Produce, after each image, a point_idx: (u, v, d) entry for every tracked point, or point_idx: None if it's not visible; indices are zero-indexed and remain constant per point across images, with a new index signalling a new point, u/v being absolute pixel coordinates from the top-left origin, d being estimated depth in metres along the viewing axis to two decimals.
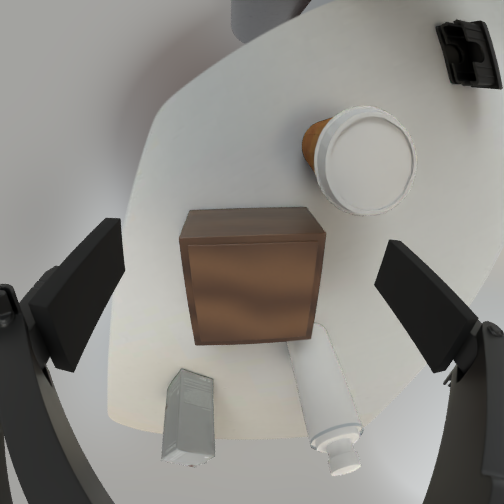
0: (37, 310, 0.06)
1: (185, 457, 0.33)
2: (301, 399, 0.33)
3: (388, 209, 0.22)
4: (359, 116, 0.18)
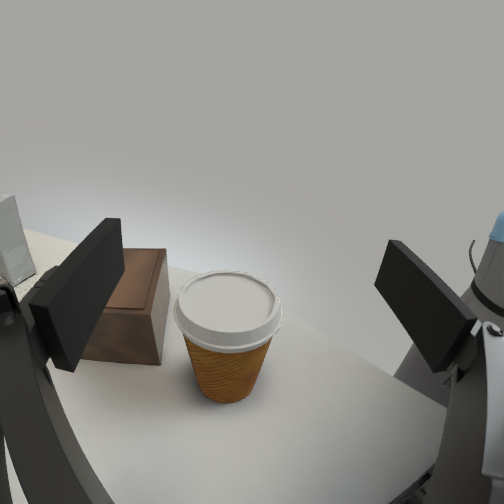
0: (37, 310, 0.06)
1: (0, 197, 0.33)
2: None
3: (183, 311, 0.22)
4: (268, 285, 0.26)
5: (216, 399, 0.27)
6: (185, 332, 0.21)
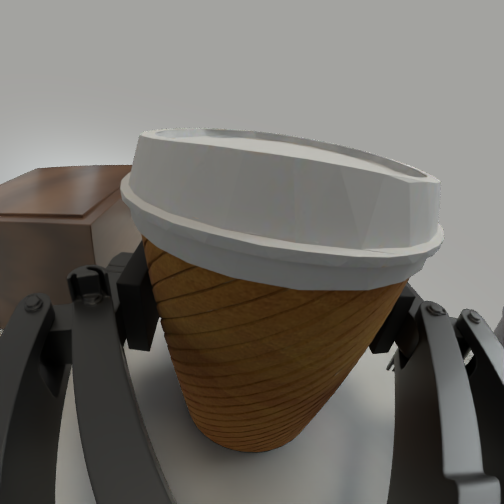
0: (126, 289, 0.08)
1: None
2: None
3: (148, 135, 0.06)
4: None
5: (227, 444, 0.10)
6: (135, 201, 0.05)
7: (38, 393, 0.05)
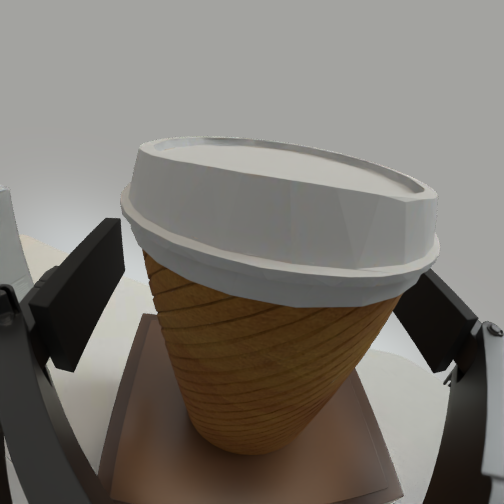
0: (37, 310, 0.06)
1: None
2: None
3: (147, 150, 0.06)
4: None
5: (226, 447, 0.10)
6: (135, 217, 0.05)
7: None
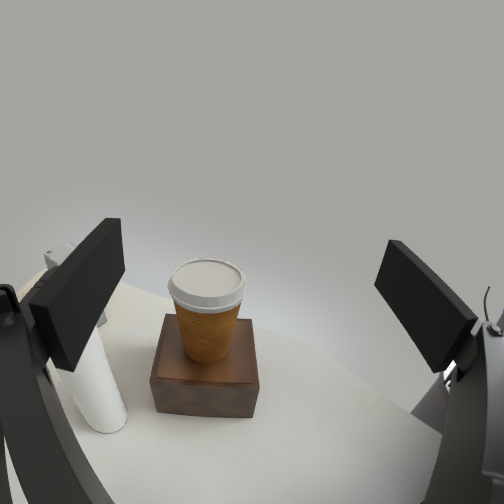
0: (37, 310, 0.06)
1: (71, 252, 0.42)
2: None
3: (174, 281, 0.31)
4: (239, 270, 0.35)
5: (196, 358, 0.36)
6: (173, 296, 0.31)
7: None
